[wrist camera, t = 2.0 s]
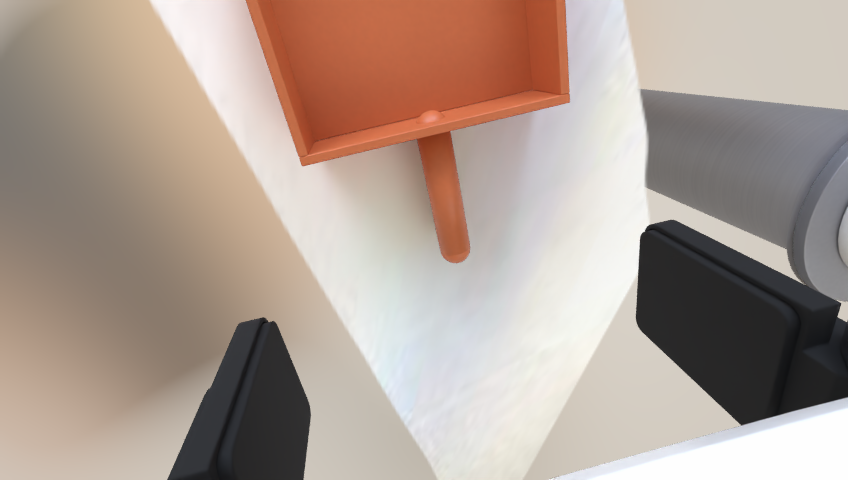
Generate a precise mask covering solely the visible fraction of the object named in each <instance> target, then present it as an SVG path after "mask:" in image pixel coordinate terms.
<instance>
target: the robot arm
mask: <svg viewBox="0 0 848 480" xmlns="http://www.w3.org/2000/svg"><path fill="white" fill-rule="evenodd" d="M838 246H839V253H840V255H841V258H842V260H843V262H844V263H845V264H846V265H847V267H848V206H847V208H846V210H845V213H844V215H843V218H842V221H841V224H840V228H839V235H838ZM840 306H841V303H840V302H838V301H836V300H834V299H832V298H830V297H828V296H826V295H824V294H822V293H820V292H818V291H816V290H814V289H812V288H810V287H808V286H806V285H804V284H802V283H800V282H798V281H796V280H794V279H792V278H790V277H788V276H786V275H784V274H782V273H780V272H778V271H776V270H774V269H772V268H769V267H768V266H766V265H764V264H762V263H760V262H758V261H756V260H753V259H752V258H750V257H748V256H746V255H744V254H742V253H740V252H737V251H736V250H733V249H732V248H730V247H727V246H726V245H724V244H722V243H720V242H718V241H715V240H714V239H712V238H710V237H708V236H706V235H704V234H701V233H699V232H697V231H695V230H694V229H691V228H689V227H688V226H685V225H684V224H681V223H680V222H677V221H675V220H668V221H664V222H660V223H655V224H651V225H649V226H648V227H647V228H646V230H645V232H643V233H642V234H641V237H640V251H639V270H638V289H637V307H636V321H637V324H638V327H639V328H640V330H641V331H642V332H643V333H644V334H645V335H646V336H647V337H648V338H649V339H650V340H651V341H652V342H653V343H655V344H656V345H657V346H658V347H659V348H660V349H661V350H662V351H663V352H664V353H665V354H666V355H667V356H668V357H669V358H670V359H672V360H673V361H674V362H675V363H676V364H677V365H678V366H679V367H680V368H681V369H682V370H683V371H684V372H685V373H686V374H687V375H688V376H690V377H691V378H692V379H693V380H694V381H695V382H696V383H697V384H698V385H699V386H700V387H701V388H702V389H703V390H704V391H706V392H707V393H708V394H709V395H710V396H711V397H712V398H713V399H714V400H715V401H716V402H717V403H718V404H719V405H721V406H722V407H723V408H724V409H725V410H726V411H727V412H728V413H729V414H730V415H731V416H732V417H733V418H734V419H735V420H736V421H737V422H738V423H739V424H741V425H742V426H738V427H734V428H731V429H727V430H723V431H720V432H717V433H712V434H709V435H705V436H702V437H698V438H695V439H691V440H687V441H684V442H680V443H676V444H672V445H669V446H665V447H662V448H658V449H654V450H651V451H648V452H644V453H640V454H637V455H633V456H630V457H626V458H623V459H619V460H615V461H612V462H608V463H604V464H601V465H597V466H594V467H590V468H587V469H583V470H580V471H576V472H573V473H569V474H566V475H562V476H558V477H555V478H551V479H548V480H848V322H845V321H843V320H842V319H839V318H838V317H837V316H838V313H839V309H840ZM310 417H311V413H310V405H309V402H308V399H307V397H306V394H305V392H304V389H303V387H302V385H301V382H300V380H299V377H298V375H297V372H296V370H295V367H294V365H293V363H292V360H291V358H290V355H289V353H288V350H287V348H286V345H285V343H284V341H283V338H282V336H281V333H280V331H279V328H278V326H277V324H276V323H275V322H274V321H272V322H268V320H266V318H259V319H254V320H250V321H246V322H242V323H240V324H238V326H237V328H236V330H235V332H234V335H233V337H232V340H231V342H230V344H229V346H228V349H227V351H226V353H225V356H224V358H223V360H222V363H221V365H220V367H219V370H218V372H217V374H216V377H215V379H214V381H213V384H212V386H211V388H210V389H208V390H207V392H206V394H205V395H204V398H203V400H202V402H201V405H200V407H199V409H198V411H197V414H196V416H195V418H194V420H193V423H192V425H191V427H190V430H189V432H188V434H187V436H186V439H185V441H184V443H183V445H182V448H181V450H180V453H179V454H178V457H177V459H176V461H175V464H174V466H173V468H172V470H171V473H170V475H169V477H168V479H167V480H303V478H304V469H305V461H306V452H307V443H308V435H309V426H310Z"/></svg>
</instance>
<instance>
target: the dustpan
mask: <svg viewBox="0 0 848 480" xmlns="http://www.w3.org/2000/svg"><path fill="white" fill-rule="evenodd" d="M246 3H247V6H248V9H249V12H250V14H251V17H252V20H253V23H254V26H255V29H256V32H257V35H258V38H259V41H260V44H261V47H262V50H263V53H264V56H265V59H266V62H267V65H268V68H269V70H270V73H271V76H272V79H273V82H274V85H275V88H276V91H277V94H278V97H279V100H280V103H281V106H282V109H283V112H284V115H285V118H286V121H287V123H288V126H289V129H290V132H291V135H292V138H293V141H294V144H295V147H296V150H297V153H298V156H299V159H300V162H301V165H302V166H306V165H310V164H314V163H318V162H323V161H327V160H331V159H335V158H339V157H343V156H348V155H352V154H356V153H360V152H364V151H369V150H373V149H377V148H381V147H385V146H390V145H394V144H398V143H402V142H406V141H410V140H415V139H417V141H418V146H419V151H420V155H421V160H422V165H423V170H424V175H425V179H426V184H427V189H428V194H429V198H430V203H431V208H432V213H433V218H434V222H435V227H436V232H437V237H438V242H439V246H440V251H441V254H442V256H443V257H444V259H446V260H447V261H449V262H451V263H459V262H462V261H464V260H465V259H466V258H467V257H468V255H469V253H470V243H469V237H468V231H467V225H466V219H465V214H464V208H463V202H462V196H461V190H460V185H459V179H458V173H457V167H456V161H455V156H454V150H453V144H452V138H451V132H450V131H452V130H456V129H461V128H465V127H469V126H473V125H477V124H482V123H486V122H490V121H494V120H498V119H502V118H507V117H511V116H515V115H519V114H523V113H528V112H532V111H536V110H540V109H544V108H549V107H553V106H557V105H561V104H565V103H569V102H570V95H569V74H568V52H567V31H566V9H565V0H246ZM530 90H531V91H530ZM526 91H527V92H526ZM522 92H523V93H522ZM518 93H519V94H518ZM513 94H515V95H513ZM509 95H510V96H509ZM505 96H506V97H505ZM501 97H502V98H501ZM496 98H498V99H496ZM492 99H493V100H492ZM488 100H489V101H488ZM484 101H485V102H484ZM479 102H481V103H479ZM475 103H476V104H475ZM471 104H472V105H471ZM467 105H468V106H467ZM462 106H464V107H462ZM458 107H459V108H458ZM454 108H455V109H454ZM450 109H451V110H450ZM445 110H447V111H445ZM441 111H442V112H441ZM416 117H417V118H416ZM412 118H413V119H412ZM407 119H409V120H407ZM403 120H404V121H403ZM399 121H400V122H399ZM395 122H396V123H395ZM390 123H392V124H390ZM386 124H387V125H386ZM382 125H383V126H382ZM378 126H379V127H378ZM373 127H375V128H373ZM369 128H370V129H369ZM365 129H366V130H365ZM361 130H362V131H361ZM356 131H358V132H356ZM352 132H353V133H352ZM348 133H349V134H348ZM344 134H345V135H344ZM339 135H341V136H339ZM335 136H336V137H335ZM331 137H332V138H331ZM327 138H328V139H327ZM323 139H324V140H323ZM318 140H320V141H318ZM314 141H315V142H314Z"/></svg>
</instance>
